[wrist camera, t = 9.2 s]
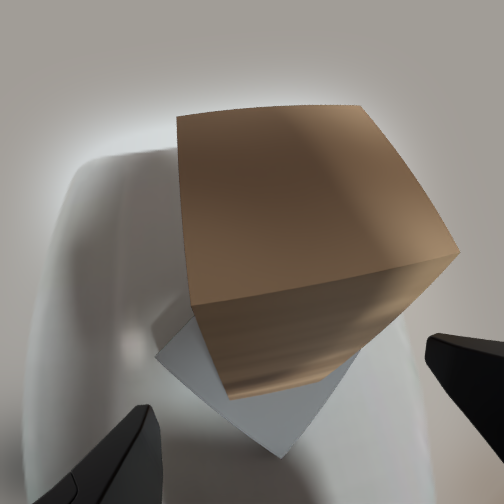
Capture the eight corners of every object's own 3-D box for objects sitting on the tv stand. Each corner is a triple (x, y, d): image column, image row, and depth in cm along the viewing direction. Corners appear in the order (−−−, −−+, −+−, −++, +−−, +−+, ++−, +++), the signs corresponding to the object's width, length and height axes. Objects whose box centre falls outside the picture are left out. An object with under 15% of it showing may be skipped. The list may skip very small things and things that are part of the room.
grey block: (276, 456, 16) (281, 459, 14) (164, 366, 19) (154, 357, 16) (357, 345, 20) (370, 333, 17) (252, 272, 22) (253, 253, 20)
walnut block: (319, 381, 16) (460, 252, 5) (229, 400, 15) (190, 305, 4) (297, 302, 19) (360, 105, 8) (214, 316, 18) (176, 116, 7)
